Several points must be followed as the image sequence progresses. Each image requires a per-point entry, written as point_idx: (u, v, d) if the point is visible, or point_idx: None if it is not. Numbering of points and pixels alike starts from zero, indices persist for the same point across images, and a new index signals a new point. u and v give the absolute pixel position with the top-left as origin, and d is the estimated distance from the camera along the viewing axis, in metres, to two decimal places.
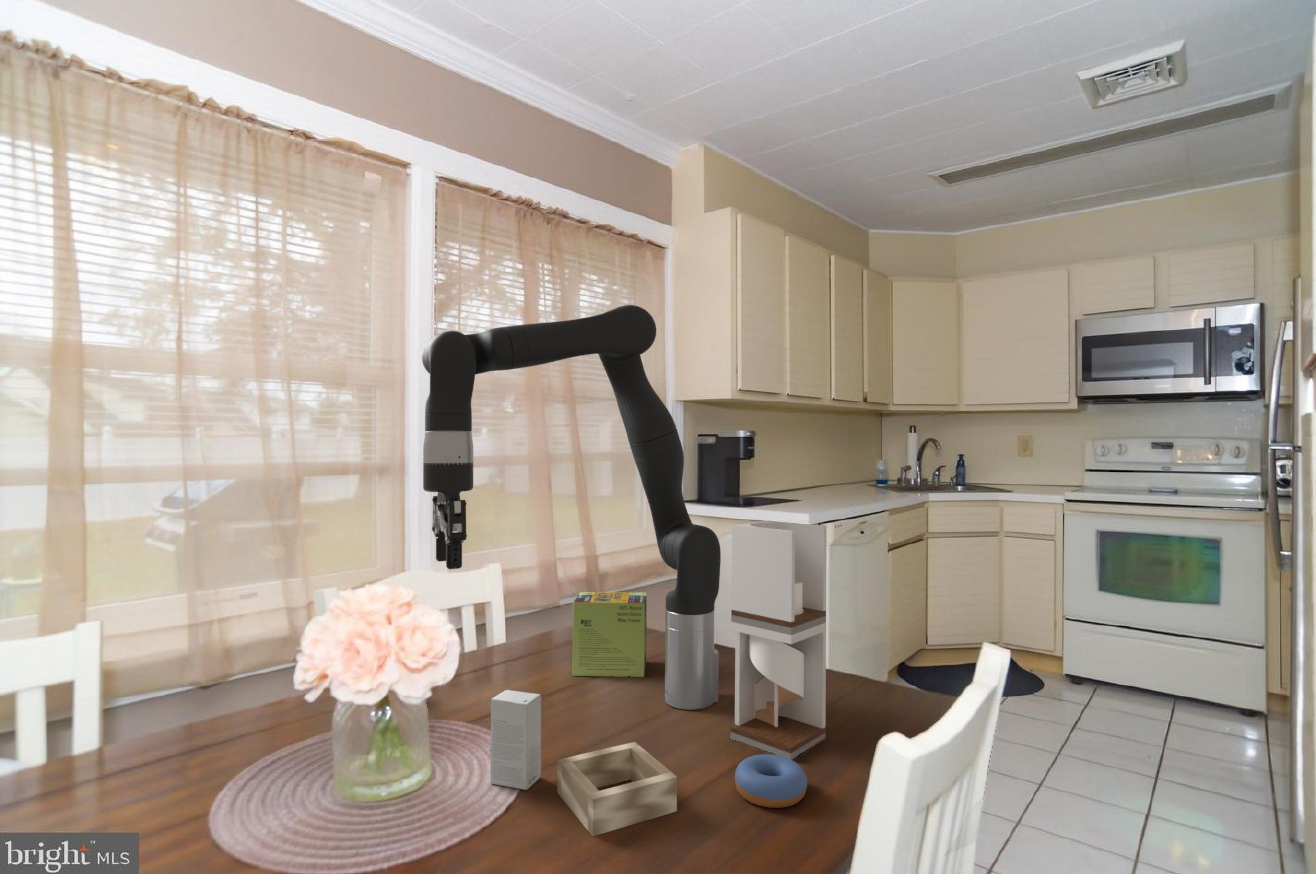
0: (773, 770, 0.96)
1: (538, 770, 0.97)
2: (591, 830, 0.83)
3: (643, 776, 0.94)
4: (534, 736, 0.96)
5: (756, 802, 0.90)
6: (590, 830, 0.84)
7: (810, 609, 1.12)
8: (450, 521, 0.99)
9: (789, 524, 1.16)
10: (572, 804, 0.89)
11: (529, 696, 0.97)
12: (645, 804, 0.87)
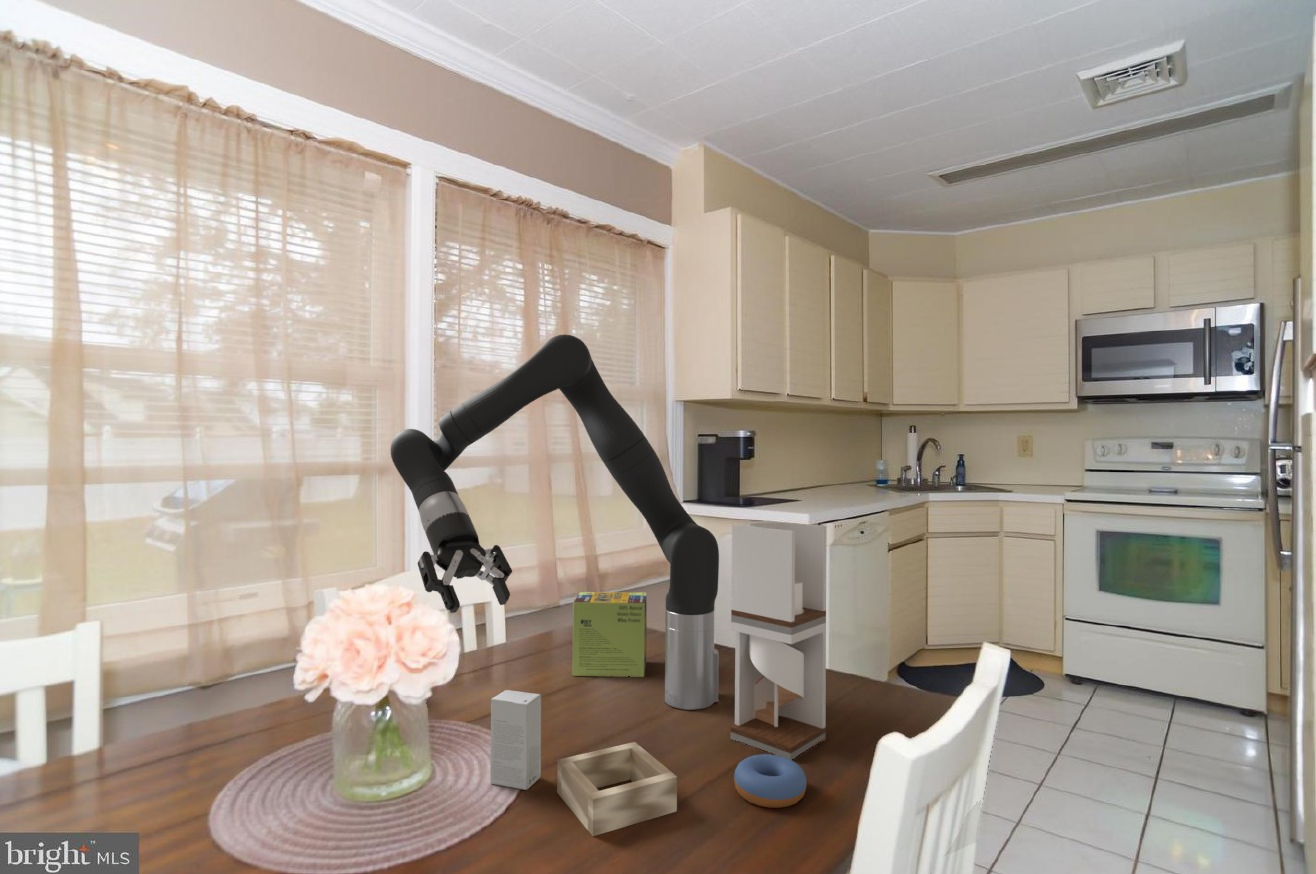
0: (772, 770, 0.96)
1: (538, 770, 0.97)
2: (591, 830, 0.83)
3: (643, 776, 0.94)
4: (534, 736, 0.96)
5: (755, 802, 0.90)
6: (590, 830, 0.84)
7: (810, 609, 1.12)
8: (421, 576, 1.05)
9: (789, 524, 1.16)
10: (572, 804, 0.89)
11: (529, 696, 0.97)
12: (645, 804, 0.87)
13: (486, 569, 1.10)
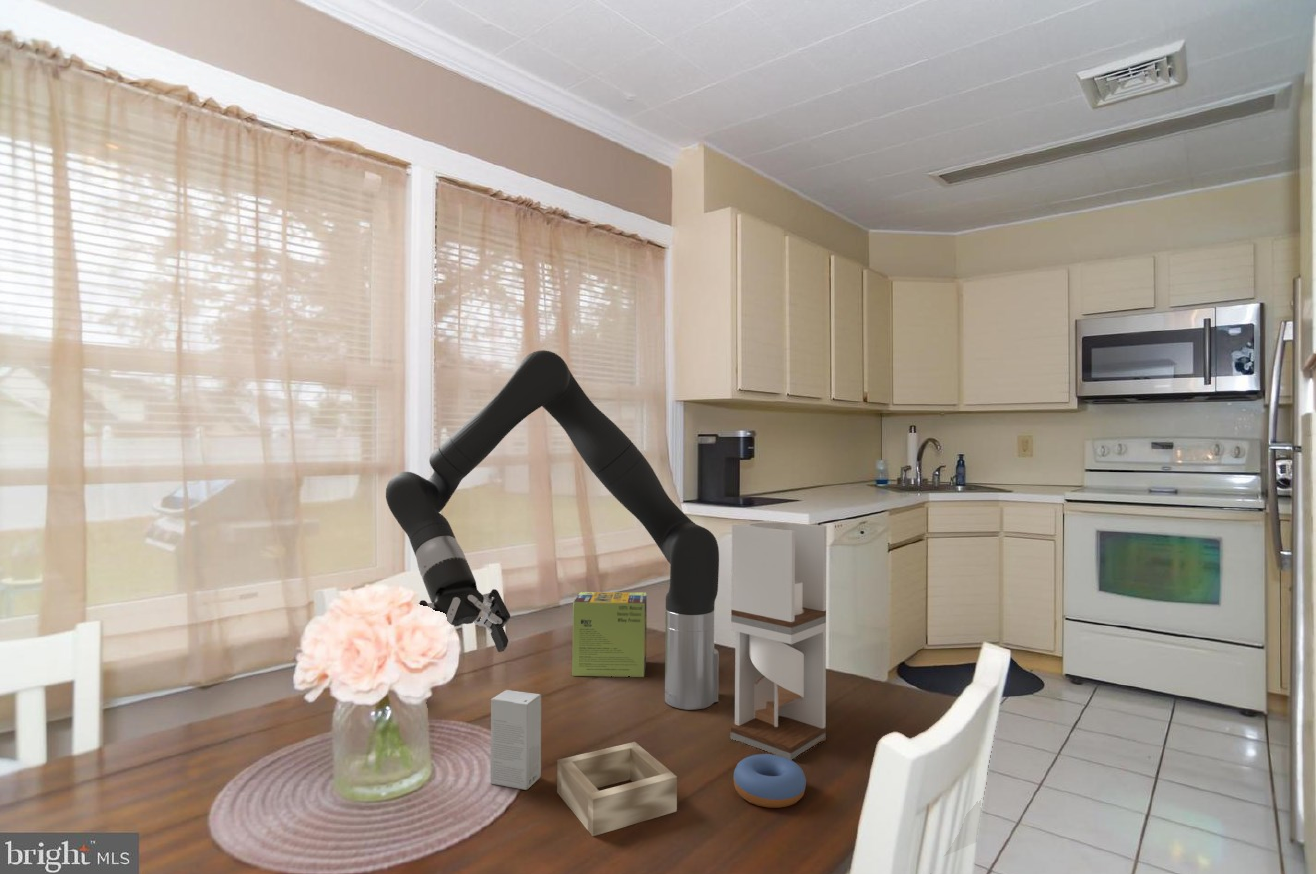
0: (772, 770, 0.96)
1: (538, 770, 0.97)
2: (591, 830, 0.83)
3: (643, 776, 0.94)
4: (534, 736, 0.96)
5: (755, 802, 0.90)
6: (590, 830, 0.84)
7: (810, 609, 1.12)
8: None
9: (789, 524, 1.16)
10: (572, 804, 0.89)
11: (529, 696, 0.97)
12: (645, 804, 0.87)
13: (484, 615, 1.09)
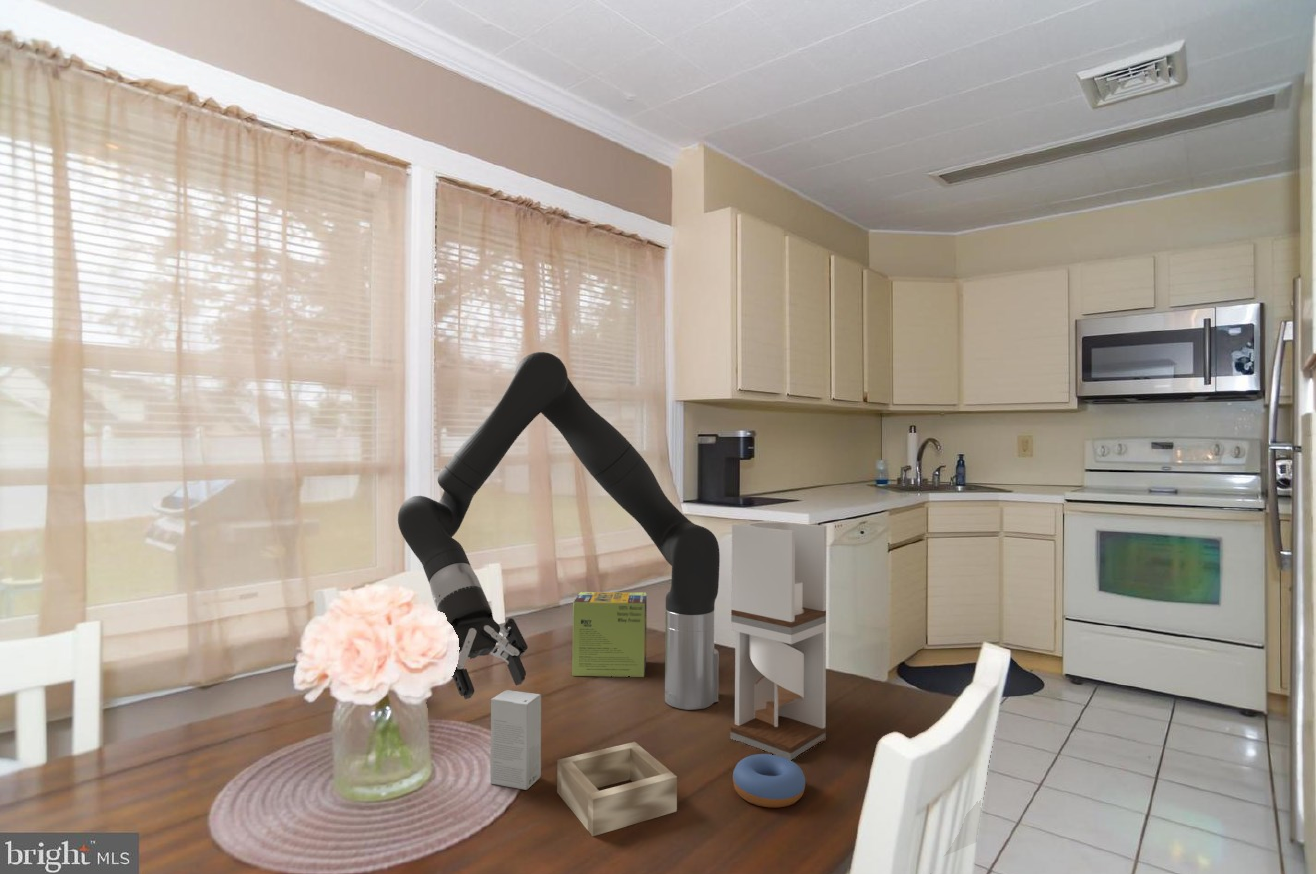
0: (771, 770, 0.96)
1: (538, 770, 0.97)
2: (591, 830, 0.83)
3: (643, 776, 0.94)
4: (534, 736, 0.96)
5: (754, 802, 0.90)
6: (590, 830, 0.84)
7: (810, 609, 1.12)
8: None
9: (789, 524, 1.16)
10: (572, 804, 0.89)
11: (529, 696, 0.97)
12: (645, 804, 0.87)
13: (501, 647, 1.05)
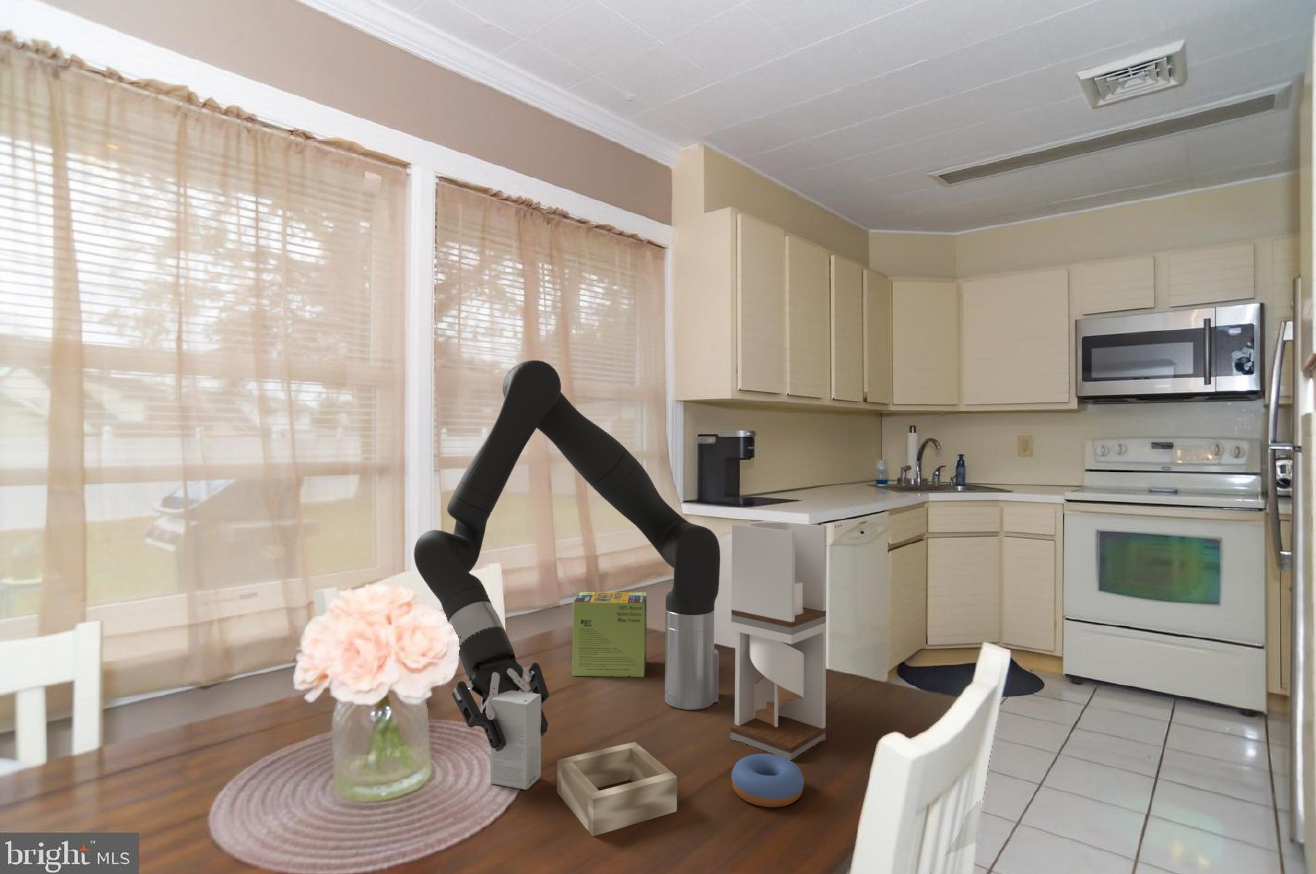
0: (770, 770, 0.96)
1: (538, 770, 0.97)
2: (591, 830, 0.83)
3: (643, 776, 0.94)
4: (534, 736, 0.96)
5: (753, 801, 0.90)
6: (590, 830, 0.84)
7: (810, 609, 1.12)
8: (460, 710, 0.95)
9: (789, 524, 1.16)
10: (572, 804, 0.89)
11: (529, 696, 0.97)
12: (645, 804, 0.87)
13: None
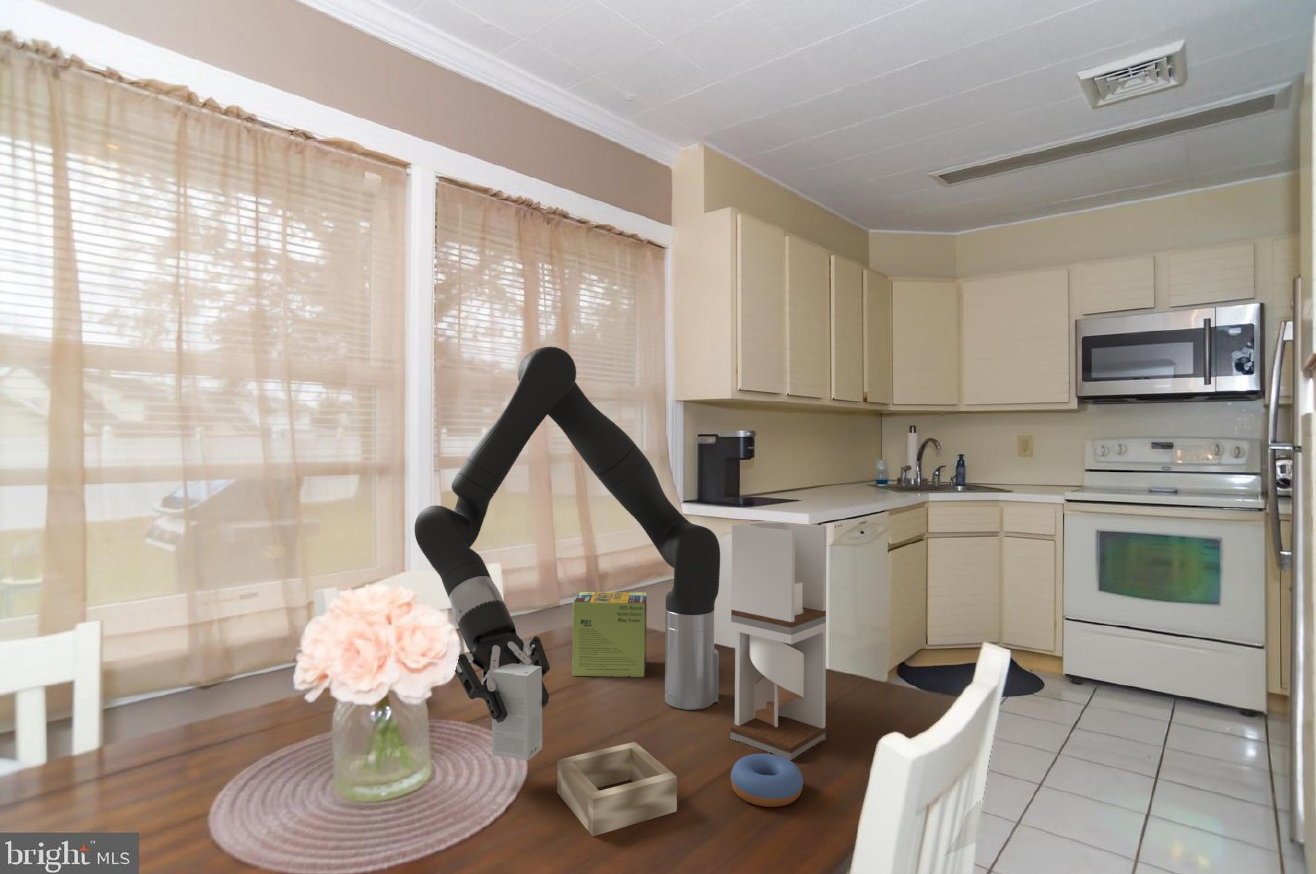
0: (769, 770, 0.96)
1: (539, 741, 0.97)
2: (591, 830, 0.83)
3: (643, 776, 0.94)
4: (535, 708, 0.96)
5: (752, 801, 0.90)
6: (590, 830, 0.84)
7: (810, 609, 1.12)
8: (461, 682, 0.96)
9: (789, 524, 1.16)
10: (572, 804, 0.89)
11: (530, 668, 0.97)
12: (645, 804, 0.87)
13: None
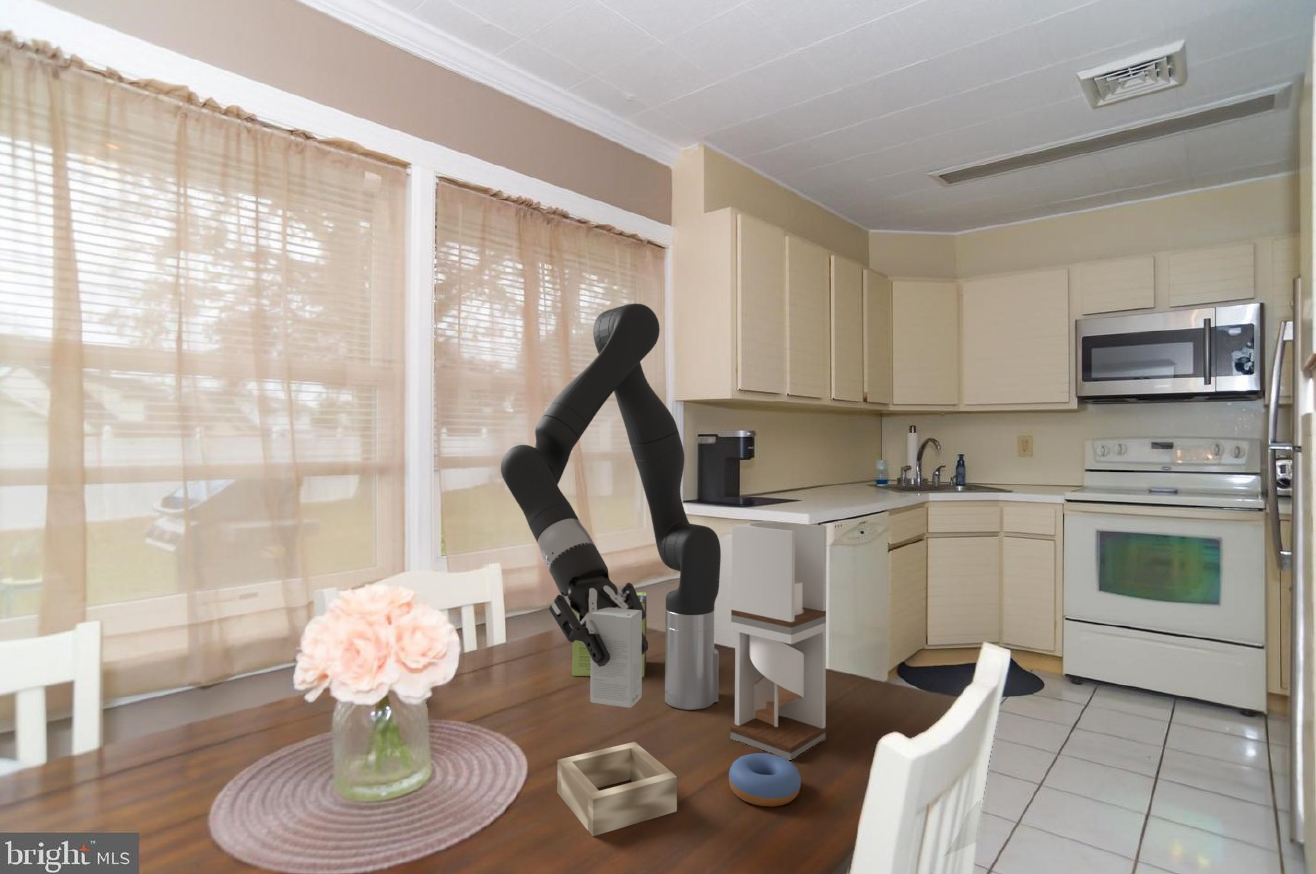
0: (767, 769, 0.96)
1: (639, 689, 0.91)
2: (591, 830, 0.83)
3: (643, 776, 0.94)
4: (637, 652, 0.90)
5: (750, 801, 0.90)
6: (590, 830, 0.84)
7: (810, 609, 1.12)
8: (559, 624, 0.90)
9: (789, 524, 1.16)
10: (572, 804, 0.89)
11: (631, 611, 0.92)
12: (645, 804, 0.87)
13: None
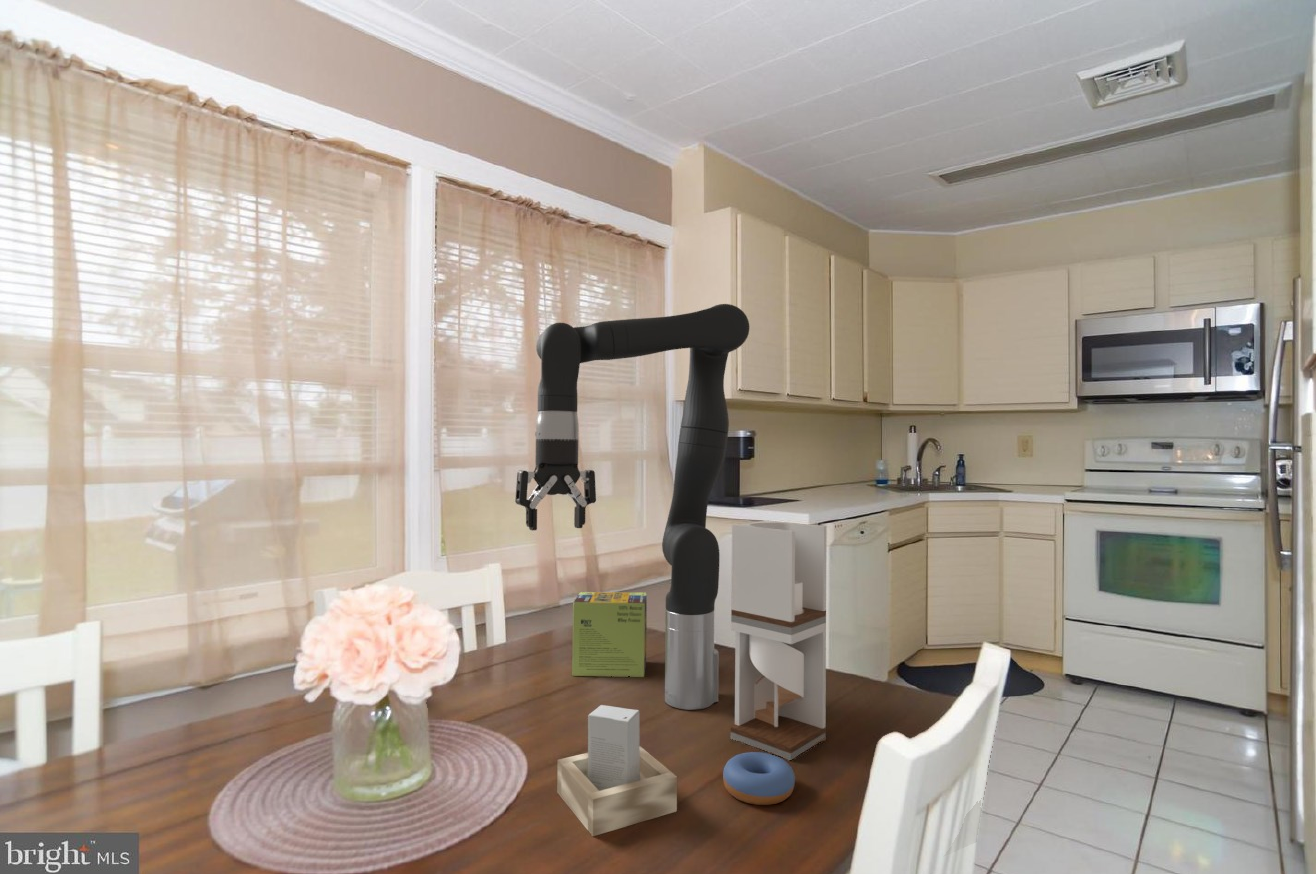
0: (761, 768, 0.96)
1: None
2: (591, 830, 0.83)
3: (643, 776, 0.94)
4: (634, 755, 0.90)
5: (743, 799, 0.91)
6: (590, 830, 0.84)
7: (810, 609, 1.12)
8: (516, 487, 1.18)
9: (789, 524, 1.16)
10: (572, 804, 0.89)
11: (628, 712, 0.91)
12: (645, 804, 0.87)
13: (573, 495, 1.21)
